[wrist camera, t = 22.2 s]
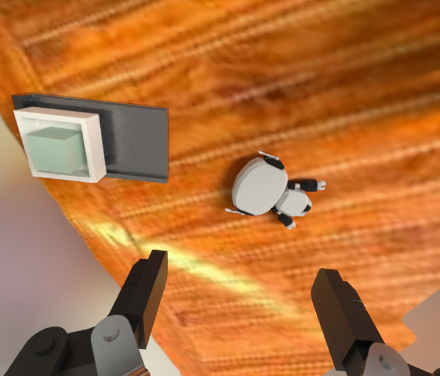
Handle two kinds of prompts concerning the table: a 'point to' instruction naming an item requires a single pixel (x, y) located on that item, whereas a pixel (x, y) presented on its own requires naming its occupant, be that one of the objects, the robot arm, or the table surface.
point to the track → (120, 133)
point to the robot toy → (271, 190)
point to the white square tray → (85, 122)
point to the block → (57, 149)
